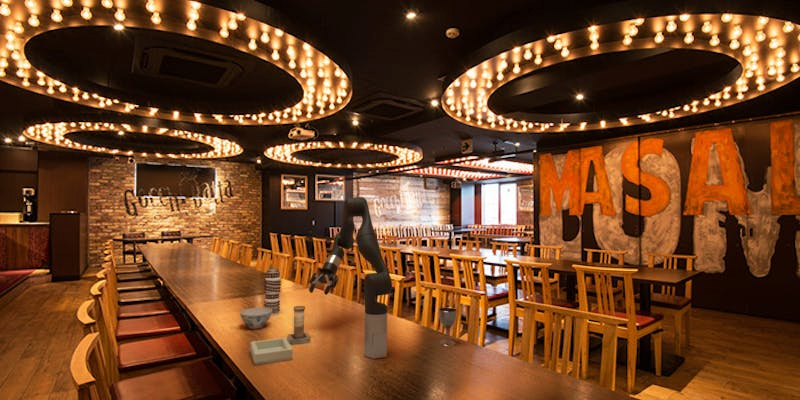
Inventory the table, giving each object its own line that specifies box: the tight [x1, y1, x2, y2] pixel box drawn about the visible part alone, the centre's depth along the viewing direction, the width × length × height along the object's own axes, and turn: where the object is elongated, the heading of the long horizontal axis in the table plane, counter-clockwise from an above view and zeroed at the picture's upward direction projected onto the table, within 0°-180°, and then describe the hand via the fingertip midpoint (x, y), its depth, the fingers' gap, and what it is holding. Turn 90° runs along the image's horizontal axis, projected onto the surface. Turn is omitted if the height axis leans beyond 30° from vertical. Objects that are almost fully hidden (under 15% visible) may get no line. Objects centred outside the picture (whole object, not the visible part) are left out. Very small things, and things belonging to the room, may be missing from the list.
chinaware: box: [239, 307, 272, 330], centre depth 199 cm, size 15×15×8 cm
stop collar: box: [286, 331, 311, 346], centre depth 179 cm, size 9×9×2 cm
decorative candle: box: [263, 268, 282, 317], centre depth 225 cm, size 9×9×25 cm
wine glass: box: [438, 306, 458, 347], centre depth 178 cm, size 8×8×15 cm
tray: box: [250, 337, 294, 366], centre depth 160 cm, size 16×14×4 cm
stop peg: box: [293, 305, 306, 339], centre depth 179 cm, size 5×5×15 cm
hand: (317, 292), depth 191 cm, fingers open, 8 cm apart
